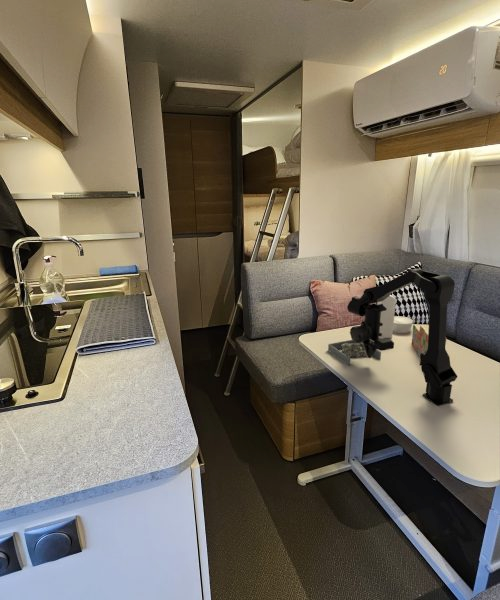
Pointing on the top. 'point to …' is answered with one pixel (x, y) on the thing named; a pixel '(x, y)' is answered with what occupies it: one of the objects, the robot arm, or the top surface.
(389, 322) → the milk
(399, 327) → the ramekin
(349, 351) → the egg carton
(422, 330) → the stack of blocks
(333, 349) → the box
